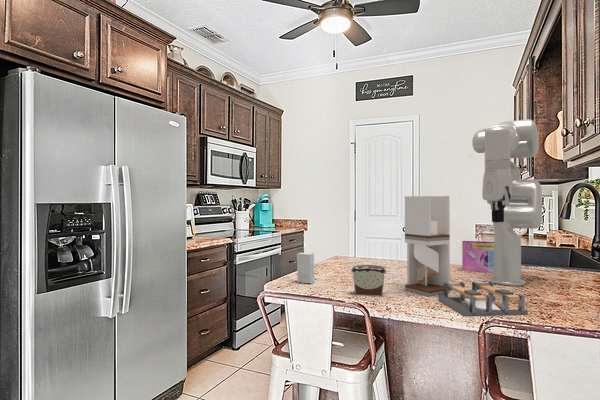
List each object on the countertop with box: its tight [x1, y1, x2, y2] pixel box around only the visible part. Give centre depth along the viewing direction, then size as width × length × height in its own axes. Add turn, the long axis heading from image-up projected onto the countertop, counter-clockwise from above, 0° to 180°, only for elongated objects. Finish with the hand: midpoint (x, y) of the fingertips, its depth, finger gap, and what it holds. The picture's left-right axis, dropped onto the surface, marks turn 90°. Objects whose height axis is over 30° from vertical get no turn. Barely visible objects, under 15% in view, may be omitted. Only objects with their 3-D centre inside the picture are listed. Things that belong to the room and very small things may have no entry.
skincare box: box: [296, 252, 316, 285], centre depth 158 cm, size 6×4×12 cm
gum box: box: [461, 240, 494, 273], centre depth 182 cm, size 24×8×14 cm, turn 71°
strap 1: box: [448, 282, 487, 301], centre depth 122 cm, size 18×4×2 cm, turn 5°
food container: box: [350, 264, 387, 297], centre depth 140 cm, size 12×6×10 cm, turn 78°
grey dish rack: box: [437, 281, 529, 317], centre depth 122 cm, size 18×19×6 cm
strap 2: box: [476, 282, 520, 301], centre depth 123 cm, size 18×4×2 cm, turn 5°
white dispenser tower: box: [404, 195, 451, 298], centre depth 142 cm, size 11×11×35 cm
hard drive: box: [463, 298, 501, 311], centre depth 122 cm, size 2×8×12 cm
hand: (497, 221), depth 127 cm, fingers closed
